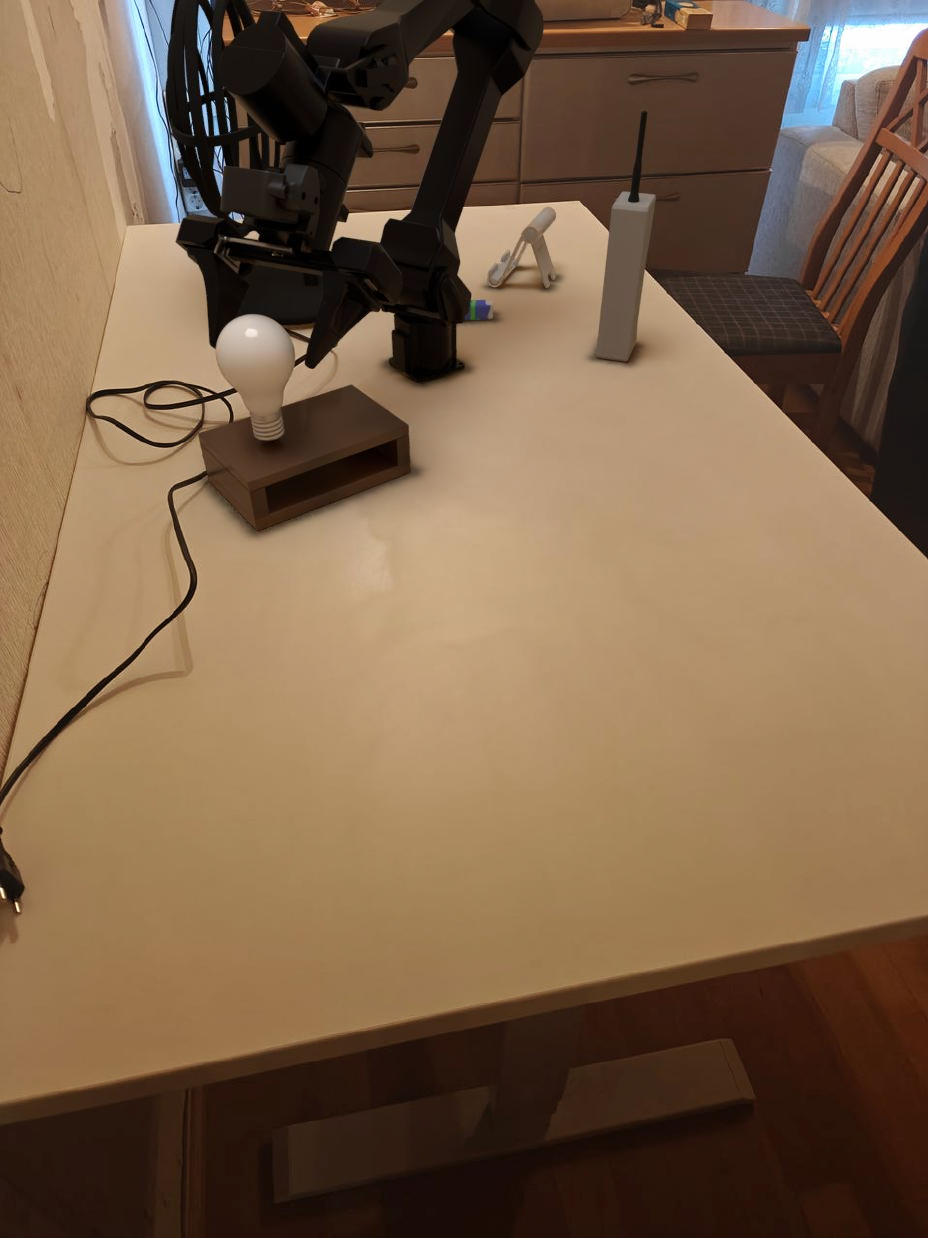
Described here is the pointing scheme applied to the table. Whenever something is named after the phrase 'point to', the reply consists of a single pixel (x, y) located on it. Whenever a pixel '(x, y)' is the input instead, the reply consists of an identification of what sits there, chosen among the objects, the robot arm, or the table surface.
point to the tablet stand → (529, 236)
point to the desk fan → (227, 150)
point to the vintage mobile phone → (625, 265)
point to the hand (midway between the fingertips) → (260, 357)
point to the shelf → (307, 456)
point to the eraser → (480, 310)
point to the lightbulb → (258, 369)
